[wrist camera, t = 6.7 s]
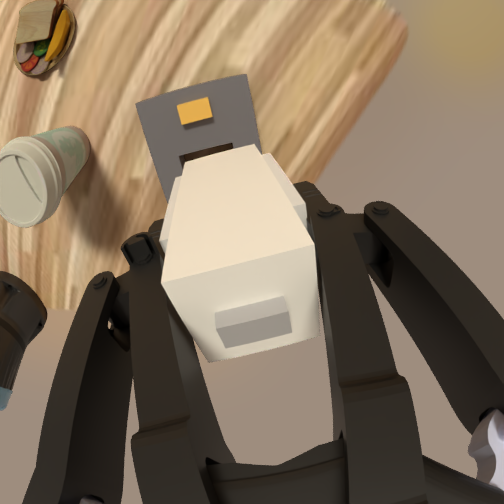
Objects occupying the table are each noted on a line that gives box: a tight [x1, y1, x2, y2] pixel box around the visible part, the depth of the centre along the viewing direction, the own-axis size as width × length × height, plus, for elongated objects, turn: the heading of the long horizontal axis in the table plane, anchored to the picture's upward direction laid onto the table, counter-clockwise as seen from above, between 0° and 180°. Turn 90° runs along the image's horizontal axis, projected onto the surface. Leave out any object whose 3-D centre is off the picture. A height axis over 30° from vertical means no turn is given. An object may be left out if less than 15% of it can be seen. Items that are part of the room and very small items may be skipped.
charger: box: [161, 144, 320, 362], centre depth 12 cm, size 4×4×11 cm
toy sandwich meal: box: [13, 0, 75, 75], centre depth 16 cm, size 9×10×4 cm
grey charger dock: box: [136, 74, 262, 203], centre depth 28 cm, size 11×14×4 cm
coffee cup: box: [0, 126, 90, 227], centre depth 22 cm, size 9×9×12 cm
